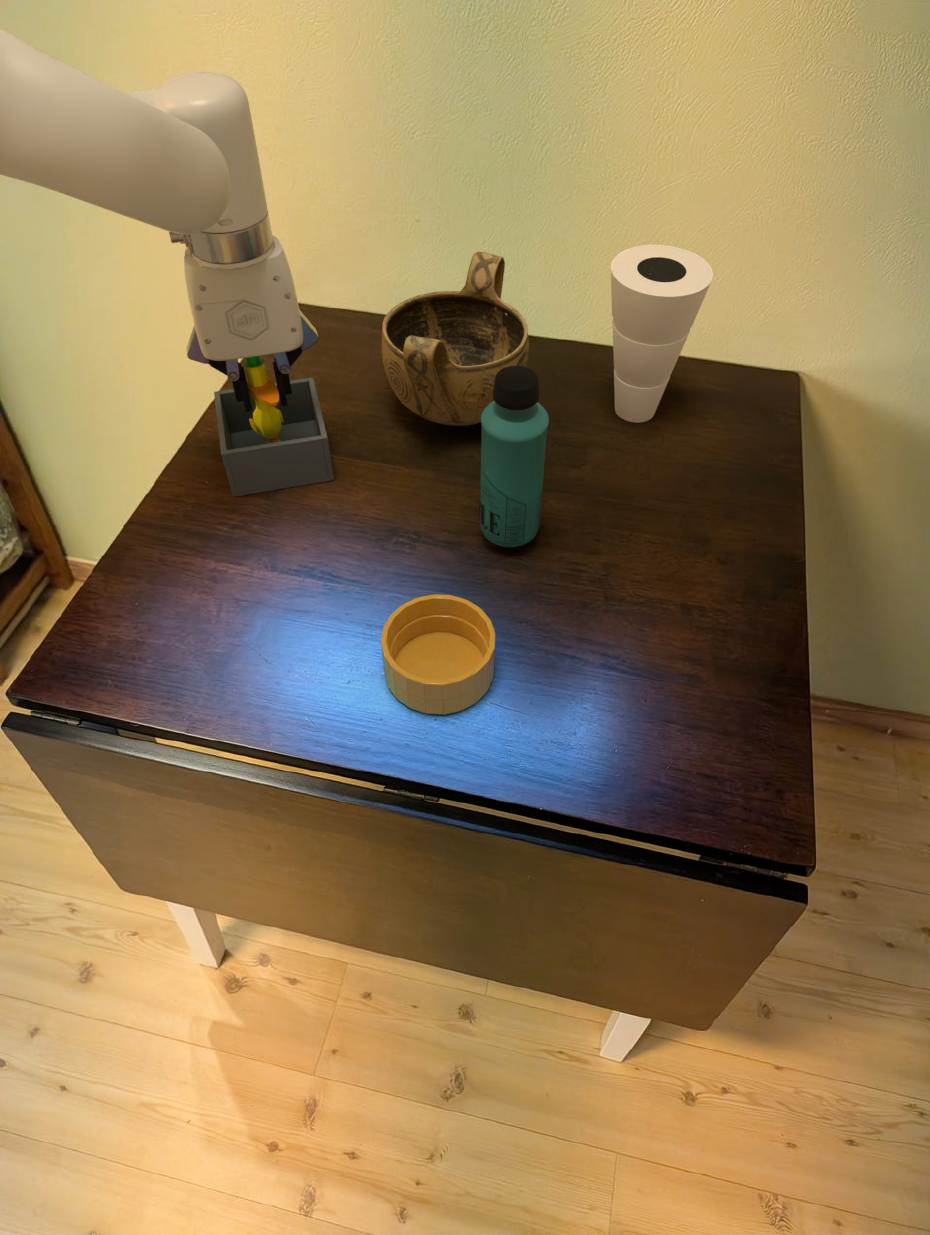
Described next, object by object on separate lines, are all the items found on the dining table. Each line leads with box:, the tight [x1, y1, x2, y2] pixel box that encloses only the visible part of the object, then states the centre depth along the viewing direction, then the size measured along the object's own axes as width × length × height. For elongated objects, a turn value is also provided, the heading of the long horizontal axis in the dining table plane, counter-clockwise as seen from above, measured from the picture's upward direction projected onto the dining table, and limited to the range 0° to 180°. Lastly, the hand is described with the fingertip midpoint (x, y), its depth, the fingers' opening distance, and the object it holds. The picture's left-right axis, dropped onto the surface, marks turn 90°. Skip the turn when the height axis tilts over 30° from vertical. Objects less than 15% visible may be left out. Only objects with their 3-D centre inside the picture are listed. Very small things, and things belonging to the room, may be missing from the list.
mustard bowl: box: [380, 593, 496, 715], centre depth 76 cm, size 10×10×5 cm
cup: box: [610, 244, 714, 423], centre depth 96 cm, size 11×11×18 cm
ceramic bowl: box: [381, 251, 530, 427], centre depth 97 cm, size 22×17×15 cm
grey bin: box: [213, 377, 335, 498], centre depth 95 cm, size 11×11×6 cm
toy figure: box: [243, 356, 283, 444], centre depth 91 cm, size 7×4×12 cm, turn 33°
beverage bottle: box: [478, 366, 550, 548], centre depth 81 cm, size 6×7×20 cm
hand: (265, 400), depth 91 cm, fingers closed on toy figure, 3 cm apart
